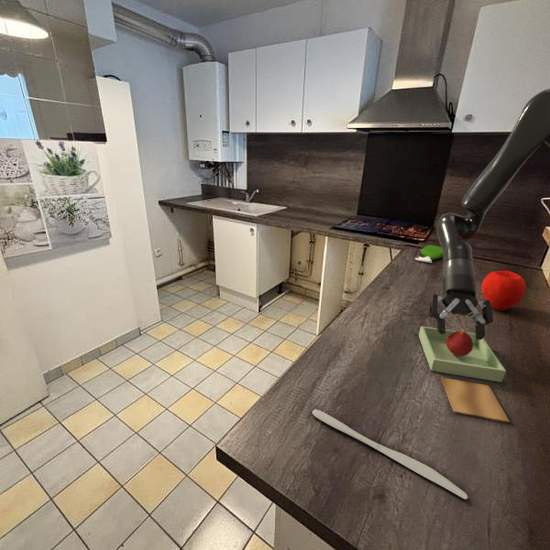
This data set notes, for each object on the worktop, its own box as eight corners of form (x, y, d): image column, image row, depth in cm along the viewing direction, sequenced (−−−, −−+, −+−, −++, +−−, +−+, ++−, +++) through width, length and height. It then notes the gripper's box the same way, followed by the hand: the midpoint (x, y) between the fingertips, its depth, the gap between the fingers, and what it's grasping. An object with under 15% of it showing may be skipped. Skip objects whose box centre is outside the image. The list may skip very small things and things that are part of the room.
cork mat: (488, 386, 66) (488, 385, 66) (509, 423, 58) (509, 421, 57) (440, 378, 69) (441, 377, 68) (453, 412, 60) (454, 411, 60)
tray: (477, 343, 81) (480, 334, 80) (501, 382, 68) (506, 371, 67) (418, 335, 85) (420, 326, 83) (430, 370, 71) (433, 359, 70)
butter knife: (317, 404, 60) (310, 413, 58) (468, 487, 46) (467, 504, 44) (317, 406, 61) (310, 415, 58) (467, 490, 46) (466, 506, 44)
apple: (476, 296, 108) (487, 263, 103) (516, 305, 102) (529, 270, 97) (474, 309, 100) (486, 273, 94) (517, 320, 93) (533, 282, 88)
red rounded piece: (454, 346, 80) (462, 321, 76) (474, 360, 74) (483, 333, 71) (438, 350, 78) (445, 325, 75) (456, 364, 73) (465, 338, 70)
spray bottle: (446, 253, 155) (435, 266, 138) (425, 249, 161) (411, 261, 144) (448, 248, 154) (436, 260, 137) (426, 244, 160) (412, 255, 143)
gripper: (434, 270, 78) (435, 329, 72) (494, 276, 75) (500, 338, 69) (426, 280, 85) (426, 335, 79) (480, 286, 82) (484, 343, 76)
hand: (460, 336), depth 74 cm, fingers open, 8 cm apart
